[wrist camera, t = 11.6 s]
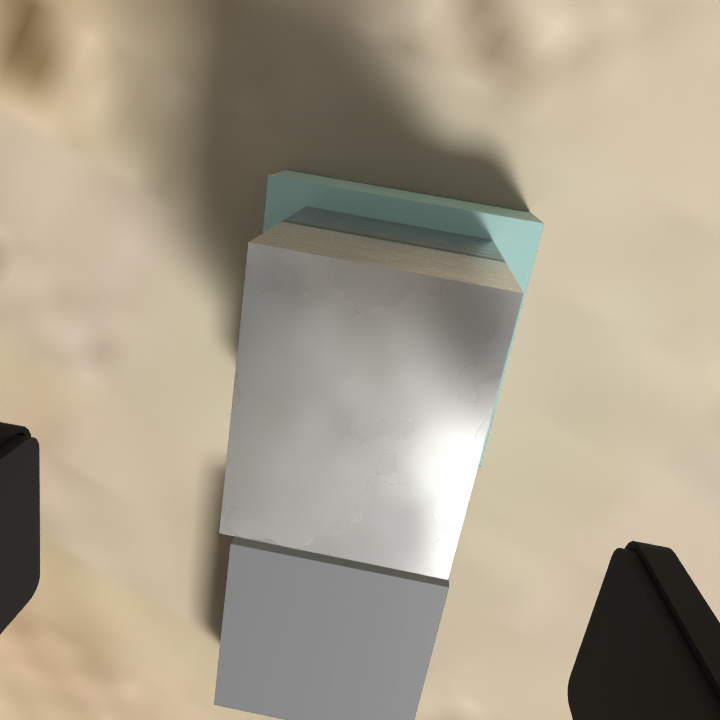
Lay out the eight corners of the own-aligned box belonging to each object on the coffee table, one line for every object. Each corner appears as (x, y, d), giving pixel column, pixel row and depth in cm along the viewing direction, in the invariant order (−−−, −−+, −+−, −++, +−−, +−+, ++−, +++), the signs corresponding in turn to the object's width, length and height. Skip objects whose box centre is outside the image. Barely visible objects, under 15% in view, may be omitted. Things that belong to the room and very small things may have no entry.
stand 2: (231, 656, 28) (214, 704, 26) (248, 505, 25) (230, 543, 23) (409, 693, 28) (407, 745, 25) (446, 544, 25) (448, 587, 22)
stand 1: (261, 391, 23) (243, 421, 21) (286, 170, 20) (268, 175, 18) (475, 432, 23) (480, 466, 21) (530, 212, 20) (543, 223, 18)
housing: (306, 206, 18) (248, 242, 12) (492, 239, 18) (523, 293, 12) (278, 419, 21) (219, 533, 15) (442, 451, 21) (447, 579, 15)
